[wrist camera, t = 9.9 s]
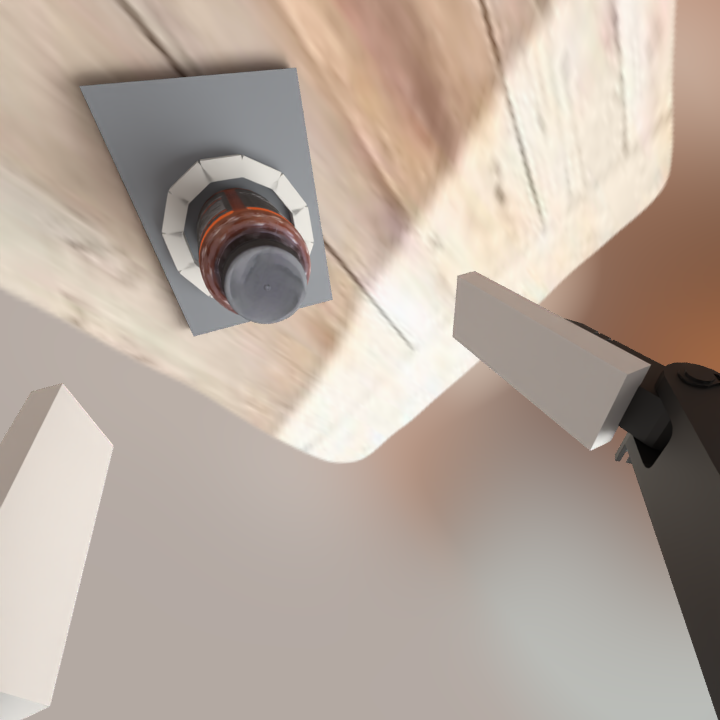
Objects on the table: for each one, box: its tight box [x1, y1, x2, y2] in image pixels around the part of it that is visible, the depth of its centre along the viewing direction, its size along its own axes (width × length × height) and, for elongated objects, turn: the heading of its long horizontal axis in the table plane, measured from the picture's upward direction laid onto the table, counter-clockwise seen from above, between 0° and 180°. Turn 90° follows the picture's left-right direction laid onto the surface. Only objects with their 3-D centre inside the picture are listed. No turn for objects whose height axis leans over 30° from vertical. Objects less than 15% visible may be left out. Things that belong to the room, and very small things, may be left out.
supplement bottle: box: [197, 188, 311, 324], centre depth 21 cm, size 6×6×11 cm
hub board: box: [79, 68, 333, 336], centre depth 25 cm, size 16×12×2 cm
